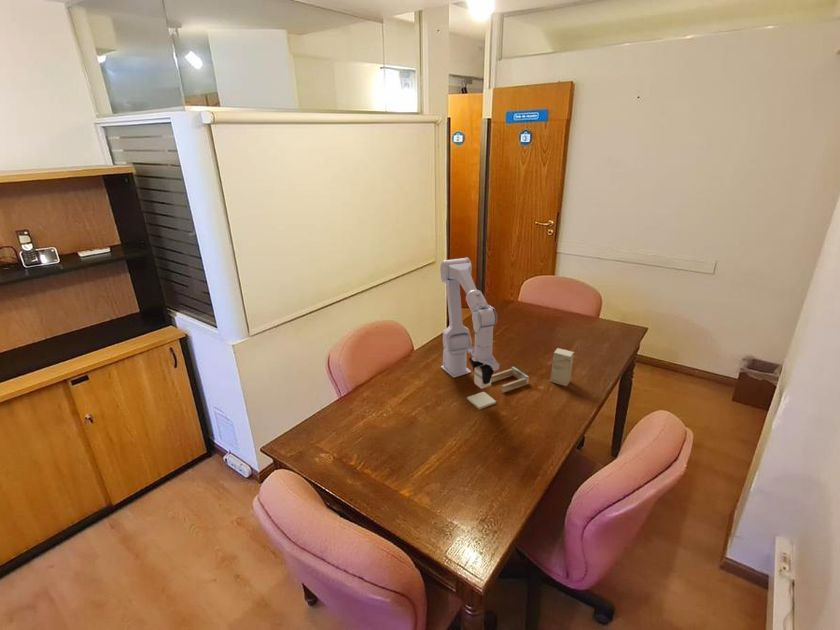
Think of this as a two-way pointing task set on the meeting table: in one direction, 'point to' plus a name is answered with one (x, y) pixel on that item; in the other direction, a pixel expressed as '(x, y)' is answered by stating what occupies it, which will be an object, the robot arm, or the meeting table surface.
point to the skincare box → (562, 366)
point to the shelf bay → (507, 373)
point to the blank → (479, 378)
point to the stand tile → (481, 400)
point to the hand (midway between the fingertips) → (482, 379)
